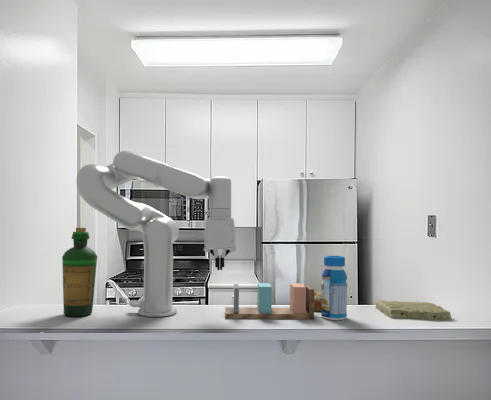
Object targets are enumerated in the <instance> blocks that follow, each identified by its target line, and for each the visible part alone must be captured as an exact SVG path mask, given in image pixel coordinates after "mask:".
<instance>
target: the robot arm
mask: <svg viewBox="0 0 491 400" xmlns="http://www.w3.org/2000/svg"><path fill="white" fill-rule="evenodd" d="M134 180H135V181H139V182H141V183H144V184H147V185H150V186H152V187H155V188H159V189H165V190H167V191H171V192H173V193H175V194H180V195H183V196H185V197H187V198H190V199H195V200H205V199H208V209H207V210H204V211H203V212H204V216H205V215H206V216H208V218H207V217H206V219H205V223H204V224H205V225H204V239H203V240H204V241H203V243H204V247H203V252H206V253H210V254H211V255H212V256H213V257H214V260H215V261H214V263H215V265H214V267H215V268H216V269H217V271H223V268H225V257H227V255H229V254H230V253H234V252H236V251H237V248H236V226H235V220H234V217H233V218H232V179H230V177H227V176H214V177H211V178H206V177H202V176H200V175H197V174H195V173H192V172H189V171H187V170H183V169H180V168H177V167H174V166H171V165H168V164H167V163H165V162H163V161H158V160H156V159H154V158H151V157H147V156H144V155H142V154H140V153H139V154H138V153H135V152H134V151H133V152H132V151H129V150H122V151H119V152H117V153H116V154H115V156H114V158H113V159H112V163H111V164H108V165H107V166H106V165H105V166H104V165H100V164H95V163H94V164H93V163H91V164H89V163H88V164H86V165H84V166H82V167H81V168H80V169H78V172H77V175H76V187H77V191H78V193H79V195H80V197H81V198H82V199H83V200H84V202H85V203H87V204H88V206H90V207H91V208H93V209H94V210H96V211H98V212H99V213H101V214H102V215H104V216H106V217H107V218H109V219H111V220H112V221H114V222H116V223H117V224H119V225H121V226H122V227H123V228H125V229H127V230H129V231H135V230H136V231H138V232H140V233H142V241H143V256H144V257H143V294H142V295H143V297H142V299H139V300H130V301H129V306H130V307H131V308H138V310H137V314H138V315H140V316H142V317H150V318H153V317H154V318H155V317H156V318H161V317H168V316H172V315H173V316H174V315H175V314H177V312H178V311H177V308H176V307H174V306H173V287H174V286H173V283H174V280H173V279H174V274H173V273H174V248H173V247H174V246H173V243H174V242H175V241H177V239H178V238H179V234H180V229H179V225H178V224H177V222H176V221H175V220H173V219H172V218H171V217H169V216H167V215H165V214H164V213H162V212H160V211H159V210H156V209H155V208H153V207H152V206H150V205H148V204H145V203H142V202H136V201H133V200H130V199H128V198H127V197H125V196H123V195H121V194H120V193H118V192H117V191H115V190H113V189H114V188H115V189H116V188H117V187H119V186H123V185H124V184H127V183H128V182H129V183H130V182H132V181H134ZM218 249H221V250H222V252H221V255H219V251H218Z"/></svg>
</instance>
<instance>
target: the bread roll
mask: <svg viewBox="0 0 491 400" xmlns="http://www.w3.org/2000/svg"><path fill="white" fill-rule="evenodd" d="M321 311H322V291H314V312H321Z"/></svg>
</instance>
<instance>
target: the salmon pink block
mask: <svg viewBox="0 0 491 400" xmlns="http://www.w3.org/2000/svg"><path fill="white" fill-rule="evenodd" d="M289 308H290V309H291V311H292V312H293V314H306V287H305V286H304V284H303V283H300V282H299V283H297V282H296V283H295V282H294V283H292V282H291V283H289Z"/></svg>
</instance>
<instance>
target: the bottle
mask: <svg viewBox="0 0 491 400" xmlns="http://www.w3.org/2000/svg"><path fill="white" fill-rule="evenodd" d="M71 240H72V243H73V247H70V248H69V249H67V250H66V251H65V252H64V253H63V255H62V256H61V257H62V261H61V262H62V290H63V291H62V294H63V295H62V297H63V299H62V303H63V314H64V316H65V317H68V318H80V317H81V318H82V317H86V316H89V315H91V314H92V313H93V309H94V308H93V306H94V296H95V284H96V275H97V264H98V263H97V261H98V255H97V253H96V252H95V250H93V249H91V248H90V247H88V241H89V240H90V233H89V231H87V227H75V231H72V234H71Z"/></svg>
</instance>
